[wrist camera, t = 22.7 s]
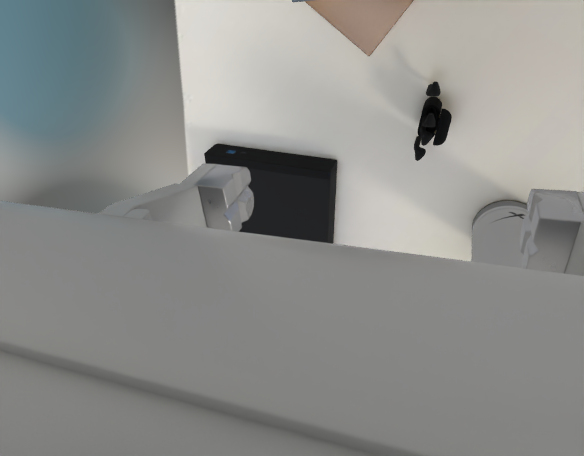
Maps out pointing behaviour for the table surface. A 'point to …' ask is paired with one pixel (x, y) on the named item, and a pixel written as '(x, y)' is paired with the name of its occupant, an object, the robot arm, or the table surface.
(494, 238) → the travel mug
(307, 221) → the external hard drive
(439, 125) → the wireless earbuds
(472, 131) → the table surface
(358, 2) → the cork pad
